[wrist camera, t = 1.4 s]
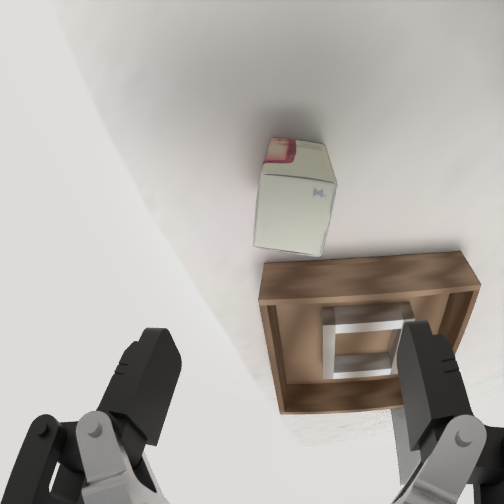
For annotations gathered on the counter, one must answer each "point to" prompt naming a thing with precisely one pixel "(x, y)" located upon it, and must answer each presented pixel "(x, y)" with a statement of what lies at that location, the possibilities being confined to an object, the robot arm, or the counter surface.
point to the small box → (294, 198)
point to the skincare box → (403, 446)
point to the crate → (356, 324)
